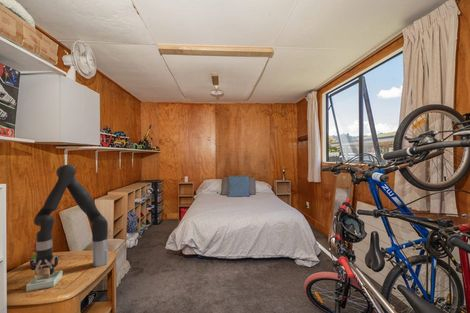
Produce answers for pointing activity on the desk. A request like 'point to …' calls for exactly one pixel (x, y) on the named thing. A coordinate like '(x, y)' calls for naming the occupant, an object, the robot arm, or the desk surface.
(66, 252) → the desk surface
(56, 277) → the green crate
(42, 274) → the oak crate
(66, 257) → the desk surface
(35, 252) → the stacking bear
